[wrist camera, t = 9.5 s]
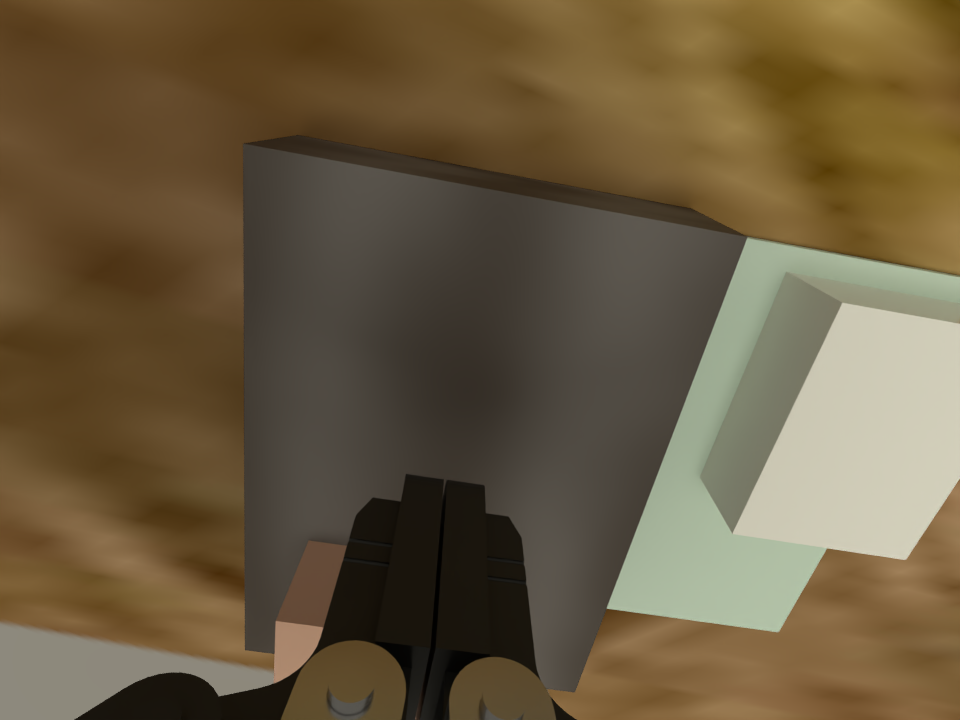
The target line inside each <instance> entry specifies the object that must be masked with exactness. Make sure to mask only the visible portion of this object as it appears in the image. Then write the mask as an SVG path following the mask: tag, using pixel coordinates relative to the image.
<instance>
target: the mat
mask: <svg viewBox="0 0 960 720" xmlns="http://www.w3.org/2000/svg"><path fill="white" fill-rule="evenodd" d="M747 237H748V236H747ZM786 272H791V273H797V274H802V275H807V276H813V277H818V278H824V279H829V280H835V281H840V282H846V283H851V284H857V285H862V286H868V287H873V288H879V289H884V290H890V291H895V292H901V293H906V294H912V295H917V296H923V297H928V298H934V299H939V300H945V301H950V302H956V303H960V276H959V275H953V274H948V273H943V272H937V271H932V270H926V269H921V268H915V267H910V266H905V265H899V264H894V263H888V262H883V261H878V260H872V259H867V258H861V257H856V256H851V255H845V254H840V253H834V252H829V251H824V250H818V249H813V248H807V247H802V246H797V245H791V244H786V243H780V242H775V241H770V240H764V239H759V238H753V237H748V238H747V240H746V243H745V246H744V248H743V251H742V253H741V256H740V259H739V261H738V264H737V267H736V269H735V272H734V275H733V277H732V280H731V282H730V285H729V288H728V290H727V293H726V296H725V298H724V301H723V303H722V306H721V309H720V311H719V314H718V317H717V319H716V322H715V325H714V327H713V330H712V332H711V335H710V338H709V340H708V343H707V346H706V348H705V351H704V353H703V356H702V359H701V361H700V364H699V367H698V369H697V372H696V375H695V377H694V380H693V382H692V385H691V388H690V390H689V393H688V396H687V398H686V401H685V403H684V406H683V409H682V411H681V414H680V417H679V419H678V422H677V425H676V427H675V430H674V432H673V435H672V438H671V440H670V443H669V446H668V448H667V451H666V453H665V456H664V459H663V461H662V464H661V467H660V469H659V472H658V475H657V477H656V480H655V482H654V485H653V488H652V490H651V493H650V496H649V498H648V501H647V503H646V506H645V509H644V511H643V514H642V517H641V519H640V522H639V525H638V527H637V530H636V532H635V535H634V538H633V540H632V543H631V546H630V548H629V551H628V553H627V556H626V559H625V561H624V564H623V567H622V569H621V572H620V574H619V577H618V580H617V582H616V585H615V588H614V590H613V593H612V596H611V598H610V601H609V603H608V606H607V609H614V610H622V611H629V612H636V613H643V614H651V615H658V616H665V617H672V618H679V619H687V620H694V621H701V622H708V623H716V624H723V625H730V626H737V627H744V628H752V629H759V630H766V631H773V632H779V631H780V629H781V627H782V625H783V624H784V622H785V620H786V618H787V617H788V615H789V613H790V612H791V610H792V608H793V606H794V605H795V603H796V601H797V599H798V598H799V596H800V594H801V592H802V591H803V589H804V587H805V586H806V584H807V582H808V580H809V579H810V577H811V575H812V573H813V572H814V570H815V568H816V566H817V565H818V563H819V561H820V560H821V558H822V556H823V554H824V553H825V551H826V549H827V548H823V547H816V546H809V545H803V544H796V543H789V542H783V541H776V540H769V539H763V538H756V537H749V536H743V535H736V534H732V533H731V531H730V529H729V527H728V526H727V524H726V522H725V520H724V519H723V517H722V515H721V513H720V512H719V510H718V508H717V506H716V505H715V503H714V501H713V499H712V498H711V496H710V494H709V492H708V491H707V489H706V487H705V485H704V484H703V482H702V480H701V478H700V476H701V473H702V471H703V469H704V466H705V464H706V462H707V459H708V457H709V454H710V452H711V450H712V447H713V445H714V443H715V440H716V438H717V435H718V433H719V431H720V428H721V426H722V424H723V421H724V419H725V416H726V414H727V412H728V409H729V407H730V405H731V402H732V400H733V397H734V395H735V393H736V390H737V388H738V386H739V383H740V381H741V378H742V376H743V374H744V371H745V369H746V367H747V364H748V362H749V359H750V357H751V355H752V352H753V350H754V348H755V345H756V343H757V340H758V338H759V336H760V333H761V331H762V329H763V326H764V324H765V321H766V319H767V317H768V314H769V312H770V310H771V307H772V305H773V302H774V300H775V298H776V295H777V293H778V291H779V288H780V286H781V283H782V281H783V279H784V276H785V274H786Z"/></svg>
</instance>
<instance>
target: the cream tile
mask: <svg viewBox="0 0 960 720" xmlns="http://www.w3.org/2000/svg"><path fill="white" fill-rule="evenodd" d="M700 478H701V480H702V482H703V484H704V485H705V487H706V489H707V491H708V492H709V494H710V496H711V498H712V499H713V501H714V503H715V505H716V506H717V508H718V510H719V512H720V513H721V515H722V517H723V519H724V520H725V522H726V524H727V526H728V527H729V529H730V531H731V533H732V534H736V535H743V536H749V537H756V538H763V539H769V540H776V541H783V542H789V543H796V544H803V545H809V546H816V547H823V548H829V549H836V550H843V551H849V552H856V553H863V554H869V555H876V556H883V557H889V558H896V559H903V560H906V559H907V557H908V556H909V554H910V553H911V551H912V550H913V548H914V547H915V545H916V544H917V542H918V541H919V539H920V538H921V536H922V535H923V533H924V532H925V530H926V529H927V527H928V526H929V524H930V523H931V521H932V520H933V518H934V517H935V515H936V514H937V512H938V511H939V509H940V508H941V506H942V504H943V503H944V501H945V500H946V498H947V497H948V495H949V494H950V492H951V491H952V489H953V488H954V486H955V485H956V483H957V482H958V480H959V479H960V303H956V302H950V301H945V300H939V299H934V298H928V297H923V296H917V295H912V294H906V293H901V292H895V291H890V290H884V289H879V288H873V287H868V286H862V285H857V284H851V283H846V282H840V281H835V280H829V279H824V278H818V277H813V276H807V275H802V274H797V273H791V272H786V274H785V276H784V279H783V281H782V283H781V286H780V288H779V291H778V293H777V295H776V298H775V300H774V302H773V305H772V307H771V310H770V312H769V314H768V317H767V319H766V321H765V324H764V326H763V329H762V331H761V333H760V336H759V338H758V340H757V343H756V345H755V348H754V350H753V352H752V355H751V357H750V359H749V362H748V364H747V367H746V369H745V371H744V374H743V376H742V378H741V381H740V383H739V386H738V388H737V390H736V393H735V395H734V397H733V400H732V402H731V405H730V407H729V409H728V412H727V414H726V416H725V419H724V421H723V424H722V426H721V428H720V431H719V433H718V435H717V438H716V440H715V443H714V445H713V447H712V450H711V452H710V454H709V457H708V459H707V462H706V464H705V466H704V469H703V471H702V473H701V476H700Z"/></svg>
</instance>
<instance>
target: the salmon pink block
mask: <svg viewBox="0 0 960 720" xmlns="http://www.w3.org/2000/svg"><path fill="white" fill-rule="evenodd" d="M346 547H347V546H345V545H338V544H331V543H324V542H317V541H310V540H309V541H308V543H307V546H306V548H305V551H304V553H303V556H302V558H301V560H300V563H299V565H298V568H297V570H296V573H295V575H294V578H293V580H292V582H291V585H290V587H289V590H288V592H287V595H286V597H285V599H284V602H283V604H282V607H281V609H280V612H279V614H278V617H277V619H276V627H275V661H274V683H276V682H279V681H281V680H283V679H284V678H286V677H288V676H290V675H291V674H292V673H294V672H295V671H296V670H298V669H299V668H300V667H301V666H302V665H303V664H304V663H305V662H306V661H307V660H308V659H309V658H310V656H311V655H312V654H313V652H314V650H315V649H316V647H317V645H318V642H319V640H320V637H321V634H322V630H323V627H324V623H325V620H326V616H327V613H328V610H329V606H330V603H331V599H332V596H333V592H334V589H335V585H336V582H337V578H338V575H339V571H340V568H341V565H342V562H343V558H344V554H345V551H346Z"/></svg>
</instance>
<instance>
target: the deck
mask: <svg viewBox="0 0 960 720" xmlns="http://www.w3.org/2000/svg"><path fill="white" fill-rule="evenodd" d="M243 196H244V498H245V650H249V651H256V652H264V653H272V654H275V627H276V619H277V617H278V614H279V612H280V609H281V607H282V604H283V602H284V599H285V597H286V595H287V592H288V590H289V587H290V585H291V582H292V580H293V578H294V575H295V573H296V570H297V568H298V565H299V563H300V560H301V558H302V556H303V553H304V551H305V548H306V546H307V543H308V541H309V540H310V541H317V542H324V543H331V544H338V545H345V546H347V544H348V542H349V537H350V533H351V530H352V527H353V523H354V520H355V516H356V514H357V513H358V512H359V511H360V510H361V509H362V508H363V507H364V506H365V505H366V504H367V503H368V502H369V501H370V500H371V499H372V498H373V497H374V498H381V499H388V500H395V501H401V498H402V493H403V487H404V482H405V476H406V474H411V475H418V476H424V477H431V478H438V479H444V485H443V493H444V488H445V483H446V480H453V481H460V482H467V483H474V484H480V485H484V486H485V503H486V513H488V514H495V515H502V516H509V518H510V520H511V521H512V523H513V524H514V526H515V528H516V529H517V531H518V533H519V534H520V536H521V537H522V545H523V554H524V566H525V572H526V580H527V581H526V586H527V589H528V598H529V607H530V616H531V625H532V634H533V643H534V652H535V661H536V667H537V671H538V674H539V677H540V680H541V682H542V683H543V684H544V686H545V688H546V689H553V690H560V691H568V692H575V690H576V688H577V685H578V682H579V680H580V677H581V674H582V672H583V669H584V667H585V664H586V661H587V659H588V656H589V653H590V651H591V648H592V646H593V643H594V640H595V638H596V635H597V632H598V630H599V627H600V624H601V622H602V619H603V617H604V614H605V611H606V609H607V606H608V603H609V601H610V598H611V596H612V593H613V590H614V588H615V585H616V582H617V580H618V577H619V574H620V572H621V569H622V567H623V564H624V561H625V559H626V556H627V553H628V551H629V548H630V546H631V543H632V540H633V538H634V535H635V532H636V530H637V527H638V525H639V522H640V519H641V517H642V514H643V511H644V509H645V506H646V503H647V501H648V498H649V496H650V493H651V490H652V488H653V485H654V482H655V480H656V477H657V475H658V472H659V469H660V467H661V464H662V461H663V459H664V456H665V453H666V451H667V448H668V446H669V443H670V440H671V438H672V435H673V432H674V430H675V427H676V425H677V422H678V419H679V417H680V414H681V411H682V409H683V406H684V403H685V401H686V398H687V396H688V393H689V390H690V388H691V385H692V382H693V380H694V377H695V375H696V372H697V369H698V367H699V364H700V361H701V359H702V356H703V353H704V351H705V348H706V346H707V343H708V340H709V338H710V335H711V332H712V330H713V327H714V325H715V322H716V319H717V317H718V314H719V311H720V309H721V306H722V303H723V301H724V298H725V296H726V293H727V290H728V288H729V285H730V282H731V280H732V277H733V275H734V272H735V269H736V267H737V264H738V261H739V259H740V256H741V253H742V251H743V248H744V246H745V243H746V240H747V238H748V237H747V236H745V235H743V234H741V233H739V232H737V231H735V230H733V229H731V228H729V227H727V226H725V225H723V224H721V223H719V222H717V221H715V220H713V219H711V218H709V217H707V216H705V215H703V214H701V213H699V212H697V211H695V210H693V209H690V208H685V207H679V206H674V205H668V204H663V203H658V202H652V201H647V200H642V199H636V198H631V197H626V196H620V195H615V194H610V193H604V192H599V191H594V190H588V189H583V188H578V187H572V186H567V185H562V184H556V183H551V182H546V181H540V180H535V179H530V178H524V177H519V176H514V175H508V174H503V173H498V172H492V171H487V170H482V169H476V168H471V167H465V166H460V165H455V164H449V163H444V162H439V161H433V160H428V159H423V158H417V157H412V156H407V155H401V154H396V153H391V152H385V151H380V150H375V149H369V148H364V147H359V146H353V145H348V144H343V143H337V142H332V141H327V140H321V139H316V138H311V137H305V136H300V135H296V136H289V137H283V138H277V139H270V140H264V141H257V142H251V143H244V144H243Z"/></svg>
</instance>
